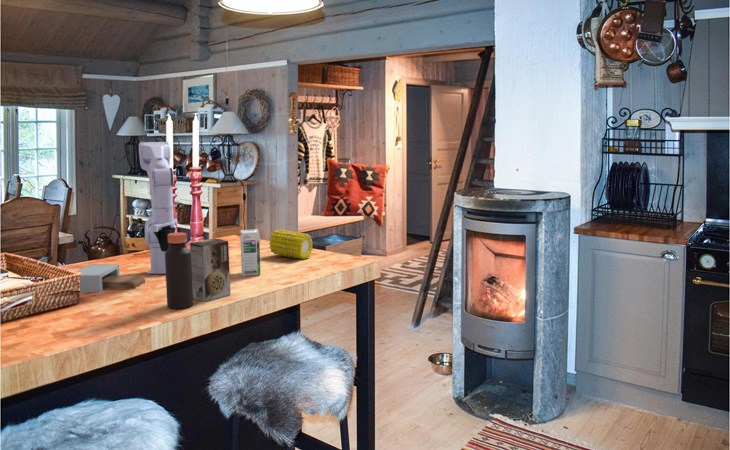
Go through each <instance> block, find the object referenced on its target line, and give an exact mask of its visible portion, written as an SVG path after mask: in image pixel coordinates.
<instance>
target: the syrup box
mask: <svg viewBox="0 0 730 450" xmlns="http://www.w3.org/2000/svg"><path fill="white" fill-rule="evenodd" d="M260 243H261V242H260V231H259V230H258V229H244V230H243V229H240V262H241V274H242V277H247V276H249V277H250V276H261V247H260V246H261V244H260Z"/></svg>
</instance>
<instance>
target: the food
mask: <svg viewBox="0 0 730 450" xmlns="http://www.w3.org/2000/svg"><path fill="white" fill-rule="evenodd" d="M269 249H270V252H271V253H273V254H274V255H278V256H283V257H289V258H294V259H302V260H305V259H308V258H310V257H311V254H312V251H313V240H312V236H311V235H309V234H308V233H304V232H298V231H291V230H285V229H276V230H274V231H273V232H272V233H271V234H270V238H269Z"/></svg>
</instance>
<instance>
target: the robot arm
mask: <svg viewBox="0 0 730 450" xmlns="http://www.w3.org/2000/svg"><path fill="white" fill-rule="evenodd" d="M138 157H139V165H140V169H142V170H143V171H146V173H147V177H148V179H149V191H150V201H151V202H150V203H151V214H152V215H151V217H149V218H148V219H146V221H145V223H144V241H145V244H146V245H147V246H149V256H150V257H149V258H150V269H149V270H148V271H147V272H146V274H147V275H148V274H150V275H151V274H153V275H157V274H158V275H159V274H160V275H166V269H165V252H166V251H167V250H168V249H169V244H168V234H170V233H177V232H178V231H177V227H176V225H178V219H177V218H175V217H174V198H173V196H174V194H173V187H174V183H175V181H174V180H175V178H174V177H175V176H174V175H175V174H174V171H173V168H172V167H170V164H171V160H170V159H171V144H170V143H169V141H156V142H155V141H153V142H152V141H148V142H146V141H144V142H143V141H140V142H139V143H138Z"/></svg>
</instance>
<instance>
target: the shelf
mask: <svg viewBox="0 0 730 450" xmlns="http://www.w3.org/2000/svg"><path fill="white" fill-rule="evenodd" d="M76 271H77V272H81V273H82V276H80V278H79V280H80V292H79V293H101V292H102V291H103V289H104V288H102V277H104V276H105V275H113V276H120V265H119V264H116V263H115V264H106V263H105V264H102V263H101V264H97V263H94V264H93V263H92V264H88V265H87V266H84V267H83V268H80V269H79V270H76Z"/></svg>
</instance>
